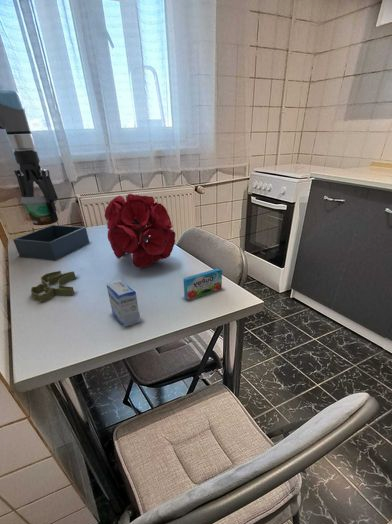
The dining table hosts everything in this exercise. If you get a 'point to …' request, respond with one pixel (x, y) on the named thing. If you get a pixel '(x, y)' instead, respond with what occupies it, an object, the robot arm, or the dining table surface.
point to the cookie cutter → (52, 279)
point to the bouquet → (139, 229)
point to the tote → (51, 242)
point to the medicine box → (123, 303)
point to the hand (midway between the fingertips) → (47, 220)
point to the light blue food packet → (202, 284)
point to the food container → (37, 210)
